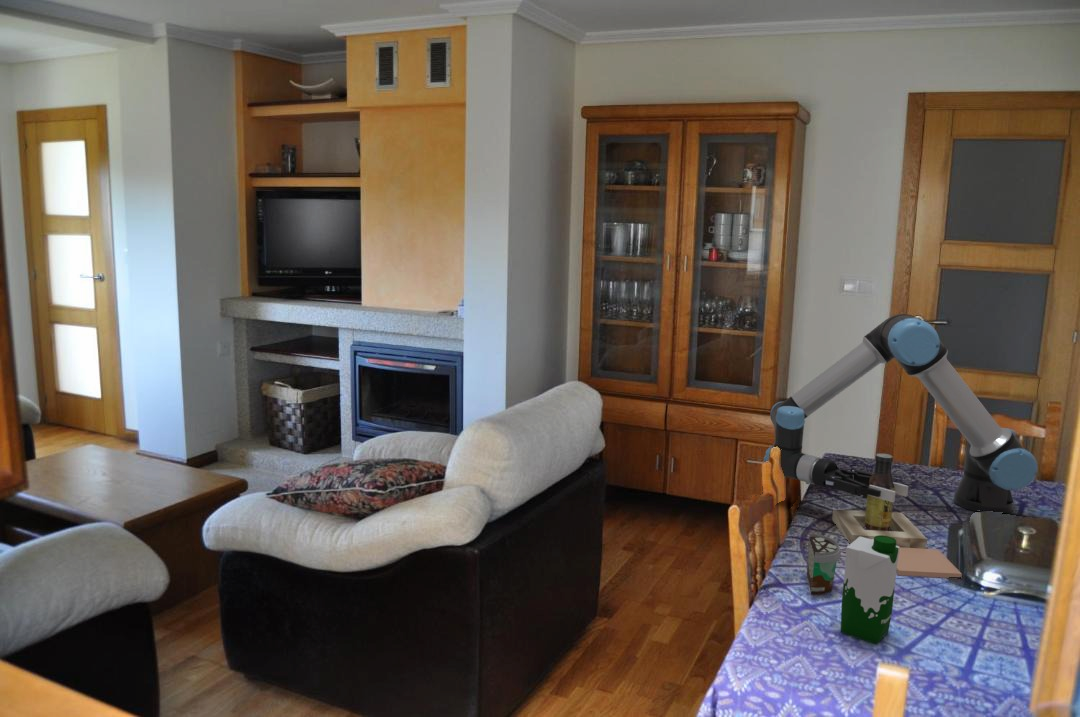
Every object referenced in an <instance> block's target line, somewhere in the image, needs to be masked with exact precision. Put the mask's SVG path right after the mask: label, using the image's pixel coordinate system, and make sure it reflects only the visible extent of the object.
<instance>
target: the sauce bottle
mask: <svg viewBox="0 0 1080 717" xmlns="http://www.w3.org/2000/svg"><path fill="white" fill-rule="evenodd" d="M893 460H894V459H893V456H892V455H891V454H888V453H876V454H875V468H874V472H873V473H872V474H873V475H872V476H871V477H870V480H869V485H874V486H877V487H881V488H885V489H888V490H892V491H894V488H895V487H894V483H893V482H894V480H893V477H892V463H893ZM893 506H894V502H890V501H886V500H883V499H879V498H876V497H872V496H868V494H867V498H866V504H865V511H866V514H865V527H864V528H865V530H877V531H891V528H890V526H891V517H892V512H893V508H894V507H893Z"/></svg>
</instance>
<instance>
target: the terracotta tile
mask: <svg viewBox="0 0 1080 717" xmlns="http://www.w3.org/2000/svg"><path fill="white" fill-rule="evenodd" d="M896 575H898V576H899V577H901V576H903V577H918V578H920V577H921V578H922V577H923V578H938V577H940V578H941V579H942V578H943V579H950V578H949V577H961V578H962V576H963V573H962V572H961V571H960V570H959V569H958V568H957V567H956V566H955V565H954V564H953V563H952V562H951V561H950V560H949V559H948V558H947V557H946V556H945V555H944V554H943V553H942V552H941V550H940V549H936V548H926V549H921V548H901V547H900V549H899V556H898V563H897V570H896Z"/></svg>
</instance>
